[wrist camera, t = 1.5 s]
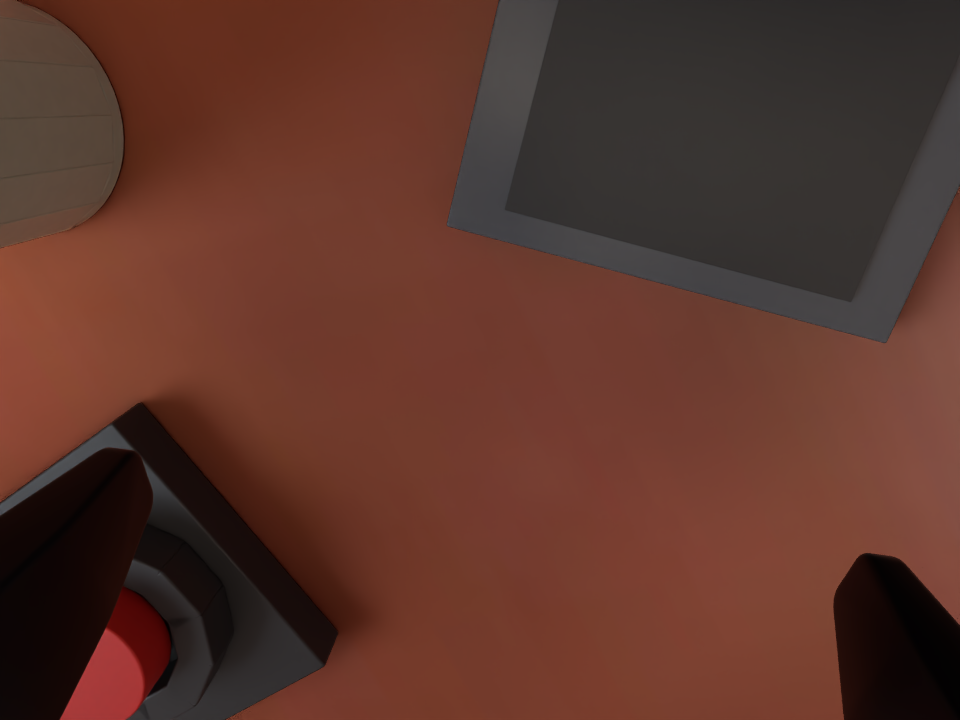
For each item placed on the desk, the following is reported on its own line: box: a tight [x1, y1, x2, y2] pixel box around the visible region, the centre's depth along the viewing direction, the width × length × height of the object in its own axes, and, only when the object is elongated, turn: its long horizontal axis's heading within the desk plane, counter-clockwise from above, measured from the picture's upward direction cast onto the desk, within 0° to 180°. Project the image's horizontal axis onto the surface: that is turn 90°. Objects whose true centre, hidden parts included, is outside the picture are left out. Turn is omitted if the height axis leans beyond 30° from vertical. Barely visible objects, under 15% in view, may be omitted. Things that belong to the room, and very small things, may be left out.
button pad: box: [0, 403, 338, 720], centre depth 26 cm, size 11×9×4 cm
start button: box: [60, 586, 171, 720], centre depth 24 cm, size 4×4×2 cm
